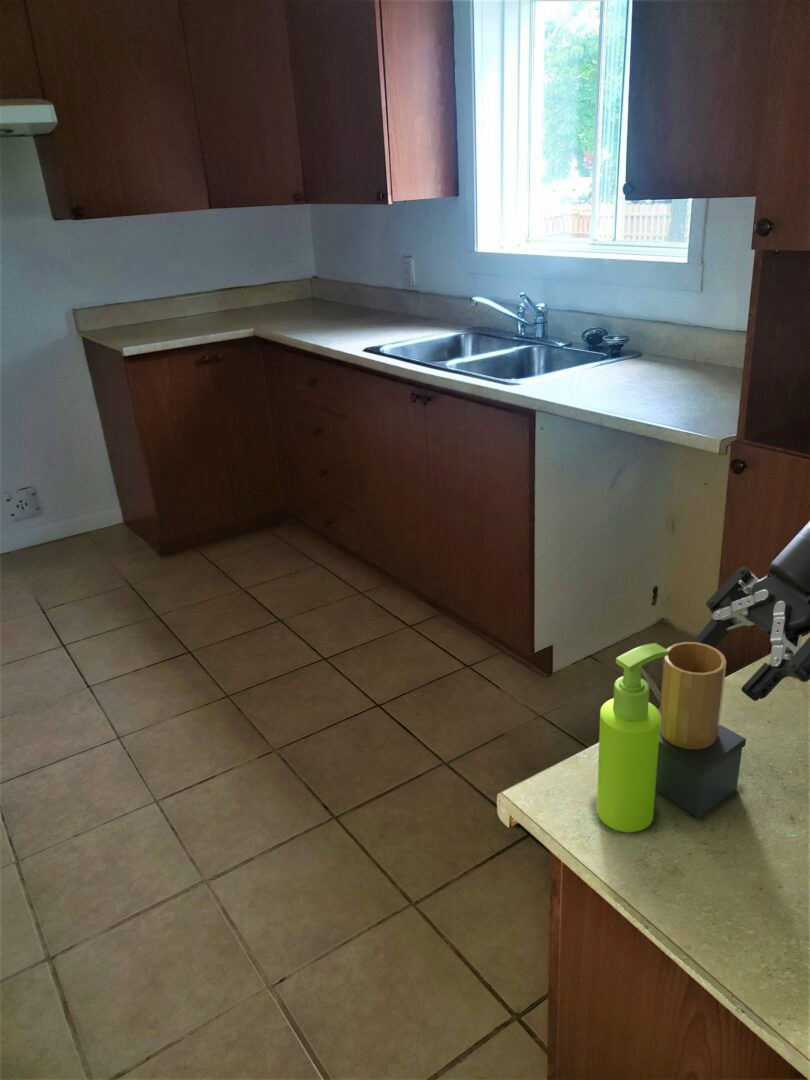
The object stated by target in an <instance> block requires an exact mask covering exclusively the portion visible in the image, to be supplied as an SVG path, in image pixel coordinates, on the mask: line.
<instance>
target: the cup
mask: <svg viewBox="0 0 810 1080" xmlns="http://www.w3.org/2000/svg"><path fill="white" fill-rule="evenodd" d="M666 649H667V650H668V651H670V652H669V654H668V655H667V656H664V657H663V662H662V674H661V675H662V677H661V687H660V689H661V690H660V704H659V709H660V716H661V720H660V733H661V735H662V736H663V737H664V739H666V740H667V741H668V742H670V743H671V744H673V745H675V746H678V747H681V748H685V749H703V748H707V747H709V746H711V745H712V744H714V742H715V741H716V740H717V737H718V732H719V724H720V725H721V723H720V722H721V714H722V705H723V697H724V689H725V678H726V669H727V659H726V657H725V655H724V654H723V653H722V651H720V650H719V649H717V648H716V647H715V648H714V647H711V646H709V645H706V644H702V643H698V642H694V641H682V642H677V643H674V644H672V645H671V646H669V647H667V648H666Z"/></svg>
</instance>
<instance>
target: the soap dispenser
mask: <svg viewBox="0 0 810 1080" xmlns="http://www.w3.org/2000/svg"><path fill="white" fill-rule="evenodd" d="M669 652H670V651H668V650H667V648H665V647H663V646H662V645H660V644H658V643H657V642H654V643H648V644H643V645H640V646H637V647H635V648H632V649H631V650H629V651H626V652H624V653H623V654H620V656H617V657H616V658H615V664H616V665H618V666H619V667H620V668H622V669H623V673H622V674H623V676H620V677H617V679H616V680H615V681H614V684H613V698H610V699H609V700H606V701H605V702H604V703H603V704H602V706H601V707H600V711H599V735H598V736H599V737H598V766H597V767H598V768H597V770H598V771H597V790H596V792H597V795H596V812H597V815H598V818H600V820H601V822H603V824H604V825H606V826H607V827H608V828H611V829H613V830H615V831H617V832H623V833H636V832H640V831H643V830H645V829H646V828H648V827H649V826H650V825H651V824H652V822H653V820H654V813H655V800H656V790H655V787H656V774H657V760H658V747H659V734H660V720H661V716H660V713H659V711H658V709H659V708H657V707H656V706H655V705H654V704H653V703H651V702H650V700H649V699H650V684H649V683H648V681H647V680H645V679H644V678H643V677H642V669H643V666H644V665H646V664H648V663H650V662H652V661H654V660H657V659H660V658H664V656H667V655H668V654H669Z"/></svg>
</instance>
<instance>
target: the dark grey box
mask: <svg viewBox="0 0 810 1080" xmlns="http://www.w3.org/2000/svg"><path fill="white" fill-rule="evenodd" d="M657 709H658V711H659V713H660V708H657ZM746 743H747V739H746V737H744V736H742V735H740V734H738V733H736V732H734V731H733V730H731V729H730V728H727V727H725V726H724V725H722V724H721V723H720V724H719V732H718V737H717V740H716V741H715V742H714V744H712V745H711V746H709V747H707V748H703V749H685V748H681V747H678V746H675V745H673V744H671V743H670V742H668V741H667V740H666V739H664V737H663V736H662V735H661V733H660V734H659V747H658V760H657V774H656V787H655V792H658V793H659V794H661V795H662V796H663V797H665V798H666V799H668V800H670V801H671V802H672V803H674V804H676V805H677V806H678V807H680V808H682V809H683V810H685V811H686V812H688V813H689V814H690V815H692V816H694V817H695V818H696V819H700V818H701V817H702V816H704V815H706V813H707V812H709V811H710V810H712V808H714V807H715V806H716V805H718V804H719V803H721V802H722V801H723V800H725V798H727V797H728V796H730V795H731V794H732V793H734V792H736V790H737V789H738V785H739V784H738V782H739V776H740V775H739V774H740V767H741V762H742V761H741V759H742V752H743V748H744V747H746Z"/></svg>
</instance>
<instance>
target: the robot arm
mask: <svg viewBox="0 0 810 1080" xmlns="http://www.w3.org/2000/svg"><path fill="white" fill-rule="evenodd" d="M748 594H750V595H749V596H748ZM705 605H706V608H708V609H709V610H710V613H711V619H710V620H709V621H708V623H707V624H706V625H705V626H703V628H702V630H701V631H699V633H698V634H697V635H696V636H695V638H694V640H693V642H698V643H702V644H706V645H709V646H711V647H714V648H716V647H717V646H719V644H720V643H721V642H722V641H723V640H724V639H725V638H726V636H728V634H729V632H728V631H730V630H733V629H737V628H739V627H742V626H746V627H751V626H754V625H755V626H756V627H757V628H758V629H759V630H761V631H763V632H765V633H766V634H767V635H768V636H769V637H770V638H769V641H770V644H771V651H770V656H769V663H767V662H766V661H764V663H762V665H761V666H760V667H759V669H757V671H755V673H753V675H752V676H751V677H750V678H749V679H748V680H747V681H746V682H745V683H744V684H743V685H742V686H741V692H742V693H743V694H745V696H747V697H748V698H749V699H751V700H752V701H754V702H757V701H759V700H763V699H765V698H767V696H768V695H769V694H770V693H771V692H772V691H773V690H774V689H775V688H776V687H777V686H778V685H779V683H780V682H781V681H783V679H785V678H788V677H790V678H794V679H797V680H799V681H800V682H803V683H806V682H808V681H809V680H810V635H809V637H808V638H807V639H806V640H805V641H804V642H803V644H802V637H803V635H805V634H810V520H809V521H808V522H807V523H806V524H805V525H804V527H803V528H802V529H801V530H800V531H799V532H798V533H797V534H796V535H795V537H793V538H792V539H791V540H790V542H789V543H788V544H786V546H785V547H784V548H783V549H782V551H781V552H780V553H779V554H778V555H777V556H776V558H774V560H772V561H771V562H770V565H769V572H768V573H767V575H766V576H764V577H762V578H761V579H760V578H759V577H758V576H756V575H755V574H754V573H753V572H752V571H751V570H750V569H749V568H748V567H746V566H741V567H739V568H738V569H737V570H736V571H735V572H734V573H733V574H732V576H731V577H729V578H728V579H727V580H726V581H725V583H723V585H722V586H720V587H719V588H718V590H716V591H715V593H714V594H712V596H711V597H709V598H708V600H707V601H706V604H705ZM801 644H802V645H801Z"/></svg>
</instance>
